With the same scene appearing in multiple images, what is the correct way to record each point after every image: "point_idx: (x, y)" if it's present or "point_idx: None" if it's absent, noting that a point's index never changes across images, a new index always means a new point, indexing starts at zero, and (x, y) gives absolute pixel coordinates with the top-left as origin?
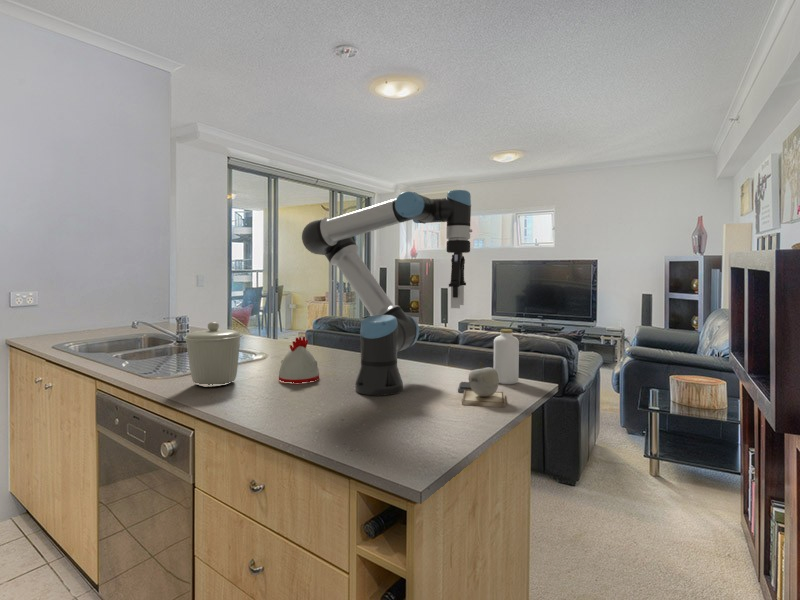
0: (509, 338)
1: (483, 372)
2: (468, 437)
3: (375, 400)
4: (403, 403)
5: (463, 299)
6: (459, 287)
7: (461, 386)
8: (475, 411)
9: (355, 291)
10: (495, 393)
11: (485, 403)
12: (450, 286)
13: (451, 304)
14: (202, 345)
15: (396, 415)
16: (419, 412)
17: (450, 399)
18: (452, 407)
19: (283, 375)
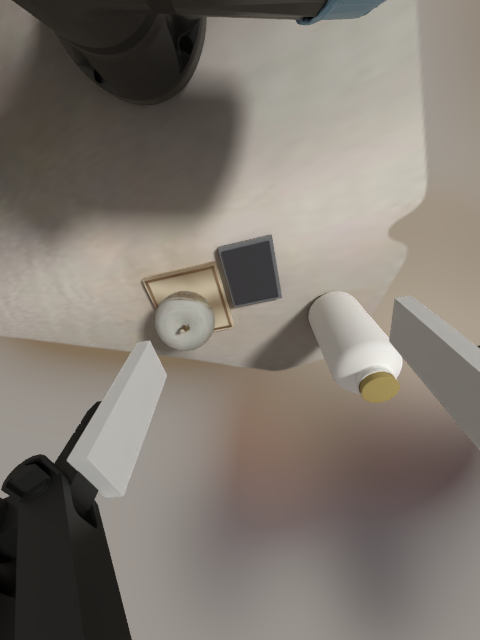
0: (345, 383)
1: (159, 335)
2: (22, 323)
3: (41, 70)
4: (74, 163)
5: (409, 364)
6: (106, 492)
7: (227, 254)
8: (124, 305)
9: None
10: (219, 317)
11: None
12: (35, 467)
13: (130, 358)
14: None
15: (3, 187)
16: (52, 223)
17: (161, 249)
18: (119, 267)
19: None
